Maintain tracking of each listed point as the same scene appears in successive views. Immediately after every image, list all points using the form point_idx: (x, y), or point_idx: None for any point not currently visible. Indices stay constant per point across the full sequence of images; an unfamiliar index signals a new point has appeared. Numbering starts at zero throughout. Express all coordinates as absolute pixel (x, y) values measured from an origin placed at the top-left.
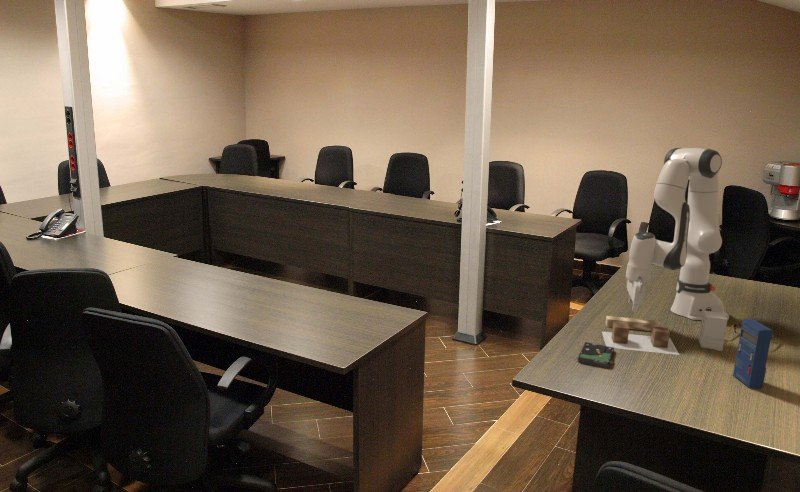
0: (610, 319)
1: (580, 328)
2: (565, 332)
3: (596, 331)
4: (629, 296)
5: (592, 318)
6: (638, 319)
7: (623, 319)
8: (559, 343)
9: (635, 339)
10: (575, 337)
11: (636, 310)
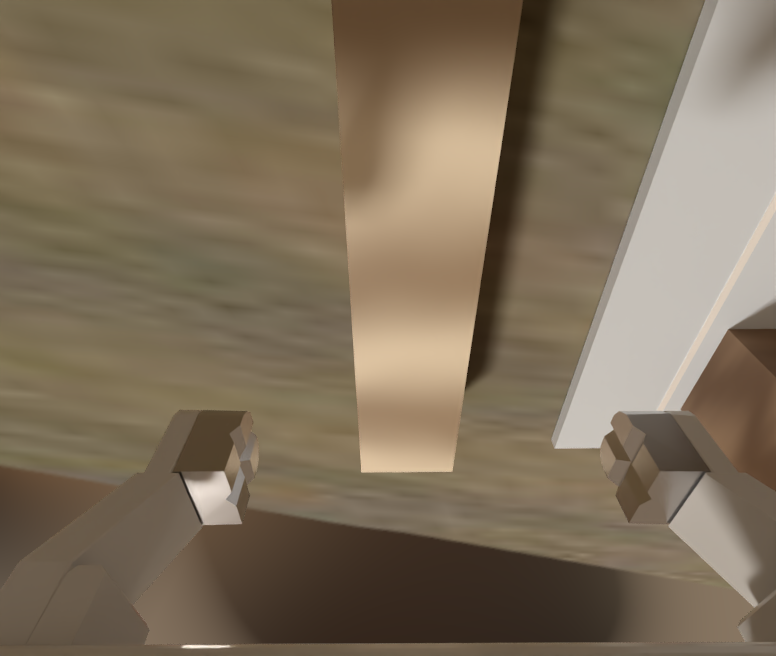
0: (453, 456)
1: (484, 513)
2: (556, 556)
3: (526, 458)
4: (151, 582)
5: (266, 463)
6: (372, 212)
7: (423, 369)
8: (702, 571)
9: (764, 250)
10: (629, 531)
11: (705, 445)
